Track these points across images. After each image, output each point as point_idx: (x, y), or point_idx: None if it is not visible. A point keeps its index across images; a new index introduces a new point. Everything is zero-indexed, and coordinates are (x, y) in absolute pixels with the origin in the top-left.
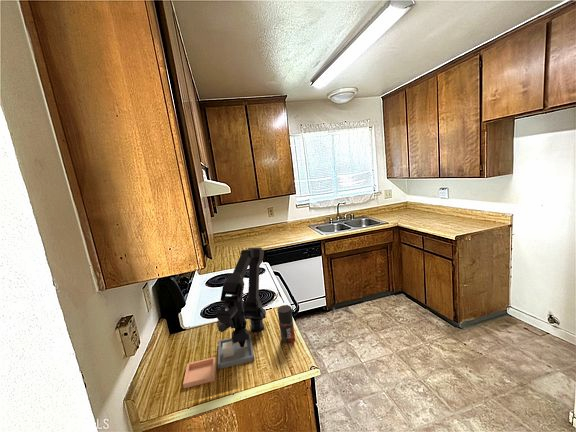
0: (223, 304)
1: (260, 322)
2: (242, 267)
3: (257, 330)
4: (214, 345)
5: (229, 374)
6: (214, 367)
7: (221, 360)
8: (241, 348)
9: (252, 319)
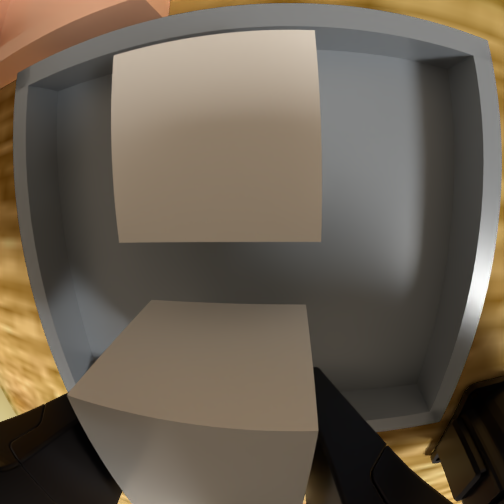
0: None
1: (462, 501)
2: None
3: (448, 444)
4: (461, 15)
5: (9, 182)
6: (9, 54)
7: None
8: None
9: None
